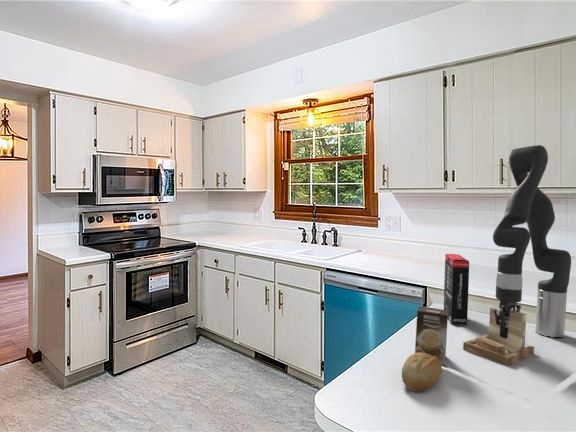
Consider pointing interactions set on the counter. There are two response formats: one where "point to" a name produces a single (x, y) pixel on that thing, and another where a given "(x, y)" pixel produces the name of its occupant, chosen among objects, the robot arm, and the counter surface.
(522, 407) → the counter surface
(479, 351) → the rack
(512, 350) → the tall beige block
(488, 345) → the slat top
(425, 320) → the coffee box
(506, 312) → the robot arm
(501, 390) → the counter surface
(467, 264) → the graphics card box
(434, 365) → the bread roll
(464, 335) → the counter surface
